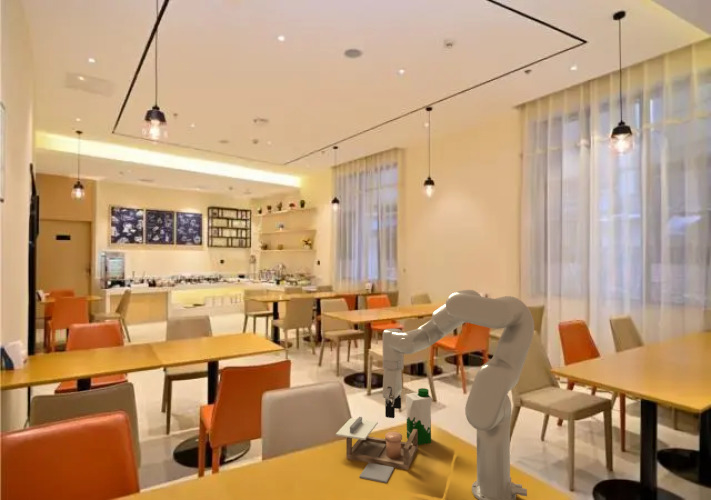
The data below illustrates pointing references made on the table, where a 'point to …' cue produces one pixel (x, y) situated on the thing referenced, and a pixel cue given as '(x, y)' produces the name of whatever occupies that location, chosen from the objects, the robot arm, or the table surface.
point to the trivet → (377, 472)
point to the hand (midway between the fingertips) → (393, 412)
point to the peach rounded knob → (393, 444)
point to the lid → (357, 428)
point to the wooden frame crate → (382, 451)
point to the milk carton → (419, 415)
